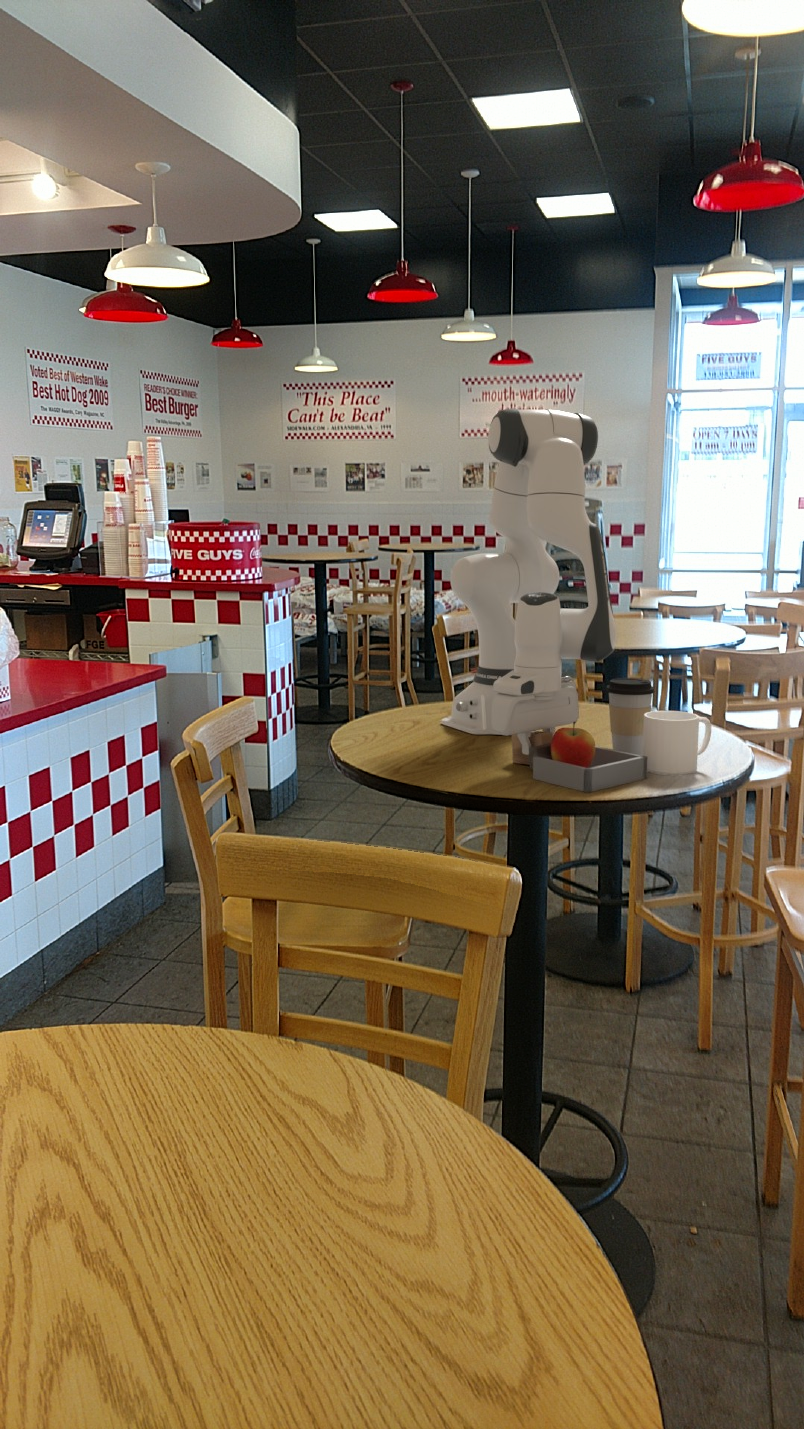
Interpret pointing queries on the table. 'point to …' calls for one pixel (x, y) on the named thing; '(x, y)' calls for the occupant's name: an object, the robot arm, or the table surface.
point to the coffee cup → (628, 712)
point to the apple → (573, 746)
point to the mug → (673, 741)
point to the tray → (593, 770)
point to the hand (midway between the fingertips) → (536, 752)
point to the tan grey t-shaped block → (539, 750)
